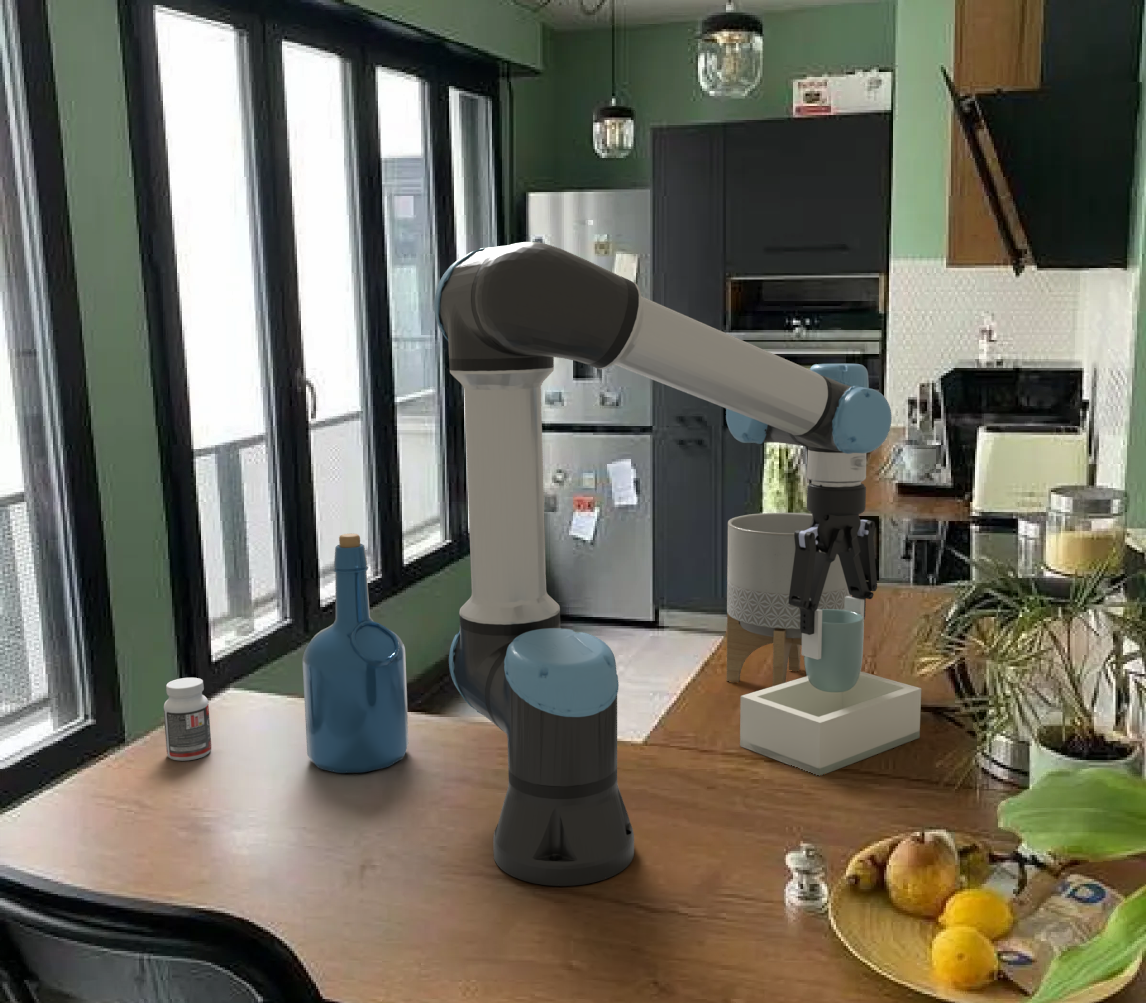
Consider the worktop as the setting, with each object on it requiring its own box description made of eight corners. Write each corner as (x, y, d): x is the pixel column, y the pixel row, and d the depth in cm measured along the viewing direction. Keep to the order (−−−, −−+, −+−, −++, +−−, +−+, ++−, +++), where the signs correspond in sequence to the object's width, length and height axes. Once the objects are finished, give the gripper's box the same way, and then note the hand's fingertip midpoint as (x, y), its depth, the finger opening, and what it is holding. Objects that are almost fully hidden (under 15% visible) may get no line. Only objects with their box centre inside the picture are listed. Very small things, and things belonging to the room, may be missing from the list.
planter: (842, 710, 166) (846, 536, 162) (715, 698, 172) (716, 530, 168) (853, 673, 184) (858, 515, 180) (738, 663, 190) (740, 510, 186)
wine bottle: (287, 759, 150) (275, 536, 145) (368, 732, 159) (360, 522, 155) (349, 786, 141) (339, 549, 136) (431, 756, 150) (424, 533, 146)
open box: (818, 776, 142) (820, 722, 141) (740, 746, 153) (740, 696, 152) (919, 737, 155) (921, 688, 154) (840, 712, 165) (841, 665, 164)
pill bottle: (219, 753, 152) (215, 682, 151) (180, 765, 148) (175, 692, 147) (198, 743, 156) (193, 673, 155) (159, 754, 152) (154, 683, 151)
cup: (863, 699, 148) (865, 624, 146) (802, 695, 150) (804, 622, 148) (860, 680, 156) (862, 609, 154) (802, 678, 157) (804, 607, 156)
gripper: (806, 493, 139) (802, 672, 143) (909, 477, 152) (903, 642, 155) (760, 487, 145) (758, 659, 148) (863, 472, 158) (859, 631, 161)
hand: (832, 650), depth 152 cm, fingers closed on cup, 8 cm apart
